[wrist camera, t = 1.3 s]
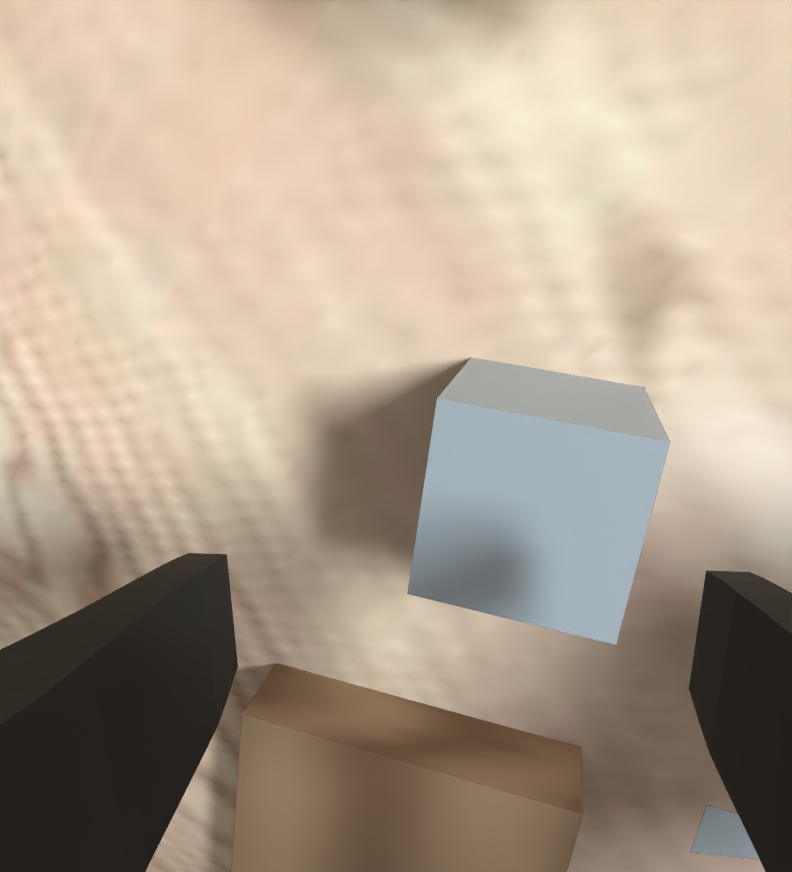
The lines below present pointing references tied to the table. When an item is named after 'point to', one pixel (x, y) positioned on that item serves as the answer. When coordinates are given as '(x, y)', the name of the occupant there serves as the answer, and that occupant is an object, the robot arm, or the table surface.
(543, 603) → the slate block
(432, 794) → the walnut block
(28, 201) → the table surface
